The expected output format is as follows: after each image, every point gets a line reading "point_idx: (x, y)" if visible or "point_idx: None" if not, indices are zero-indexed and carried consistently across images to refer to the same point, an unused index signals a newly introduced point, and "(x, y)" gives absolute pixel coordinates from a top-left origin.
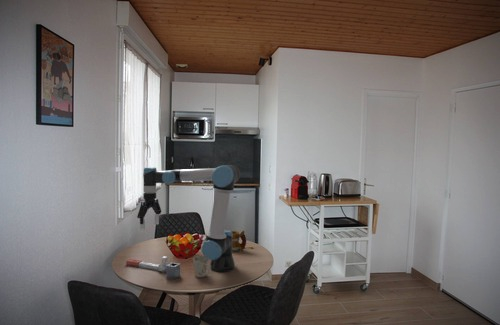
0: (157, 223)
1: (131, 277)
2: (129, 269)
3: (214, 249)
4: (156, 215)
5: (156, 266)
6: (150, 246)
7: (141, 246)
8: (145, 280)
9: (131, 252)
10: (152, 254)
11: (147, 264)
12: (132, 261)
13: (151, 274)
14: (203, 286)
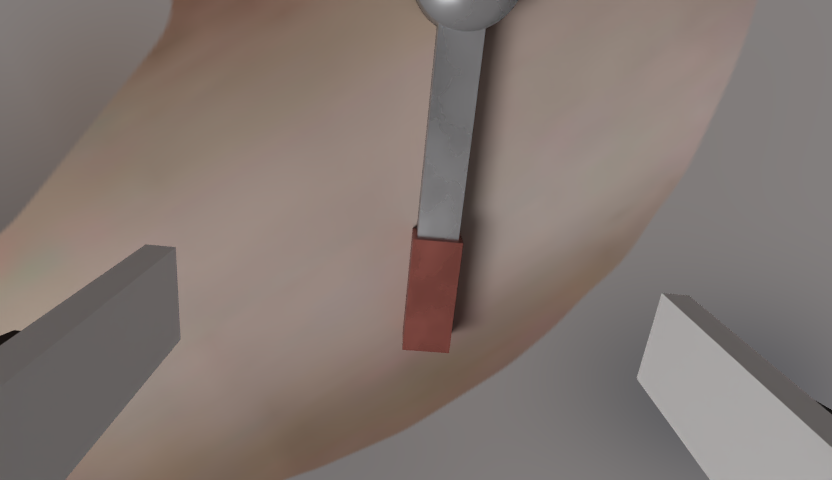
0: (164, 273)
1: (656, 163)
2: (516, 265)
3: None
4: (19, 445)
5: (482, 50)
6: None
7: None
8: (696, 22)
9: (198, 446)
10: None
11: (464, 154)
12: (450, 300)
13: (572, 42)
14: None
